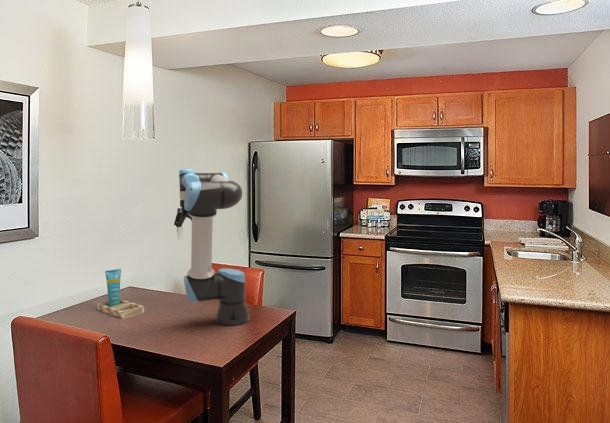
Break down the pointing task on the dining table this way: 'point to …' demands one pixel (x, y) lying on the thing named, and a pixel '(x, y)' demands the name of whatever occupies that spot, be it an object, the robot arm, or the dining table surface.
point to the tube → (113, 286)
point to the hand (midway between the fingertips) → (188, 240)
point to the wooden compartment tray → (121, 309)
